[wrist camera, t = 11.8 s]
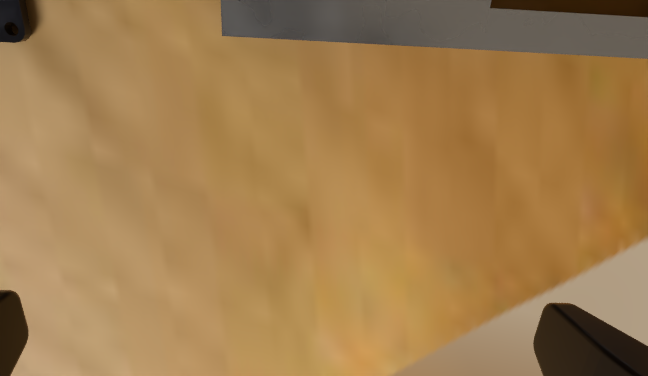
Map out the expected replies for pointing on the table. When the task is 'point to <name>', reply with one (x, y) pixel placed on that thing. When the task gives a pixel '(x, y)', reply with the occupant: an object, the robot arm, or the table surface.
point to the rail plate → (438, 25)
